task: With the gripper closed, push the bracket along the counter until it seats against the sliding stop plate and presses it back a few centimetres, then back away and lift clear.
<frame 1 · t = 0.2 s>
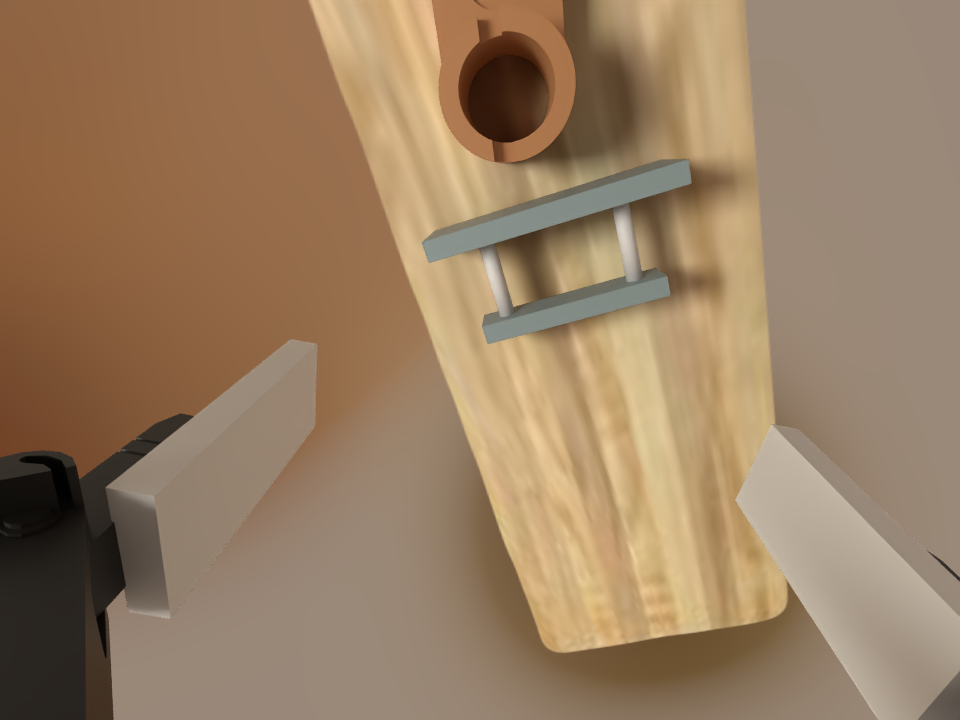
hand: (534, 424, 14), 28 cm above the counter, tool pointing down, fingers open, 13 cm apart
bracket: (499, 25, 34), on the counter
stop plate: (560, 259, 36), point 3 cm above the counter, slide at 0.0 cm
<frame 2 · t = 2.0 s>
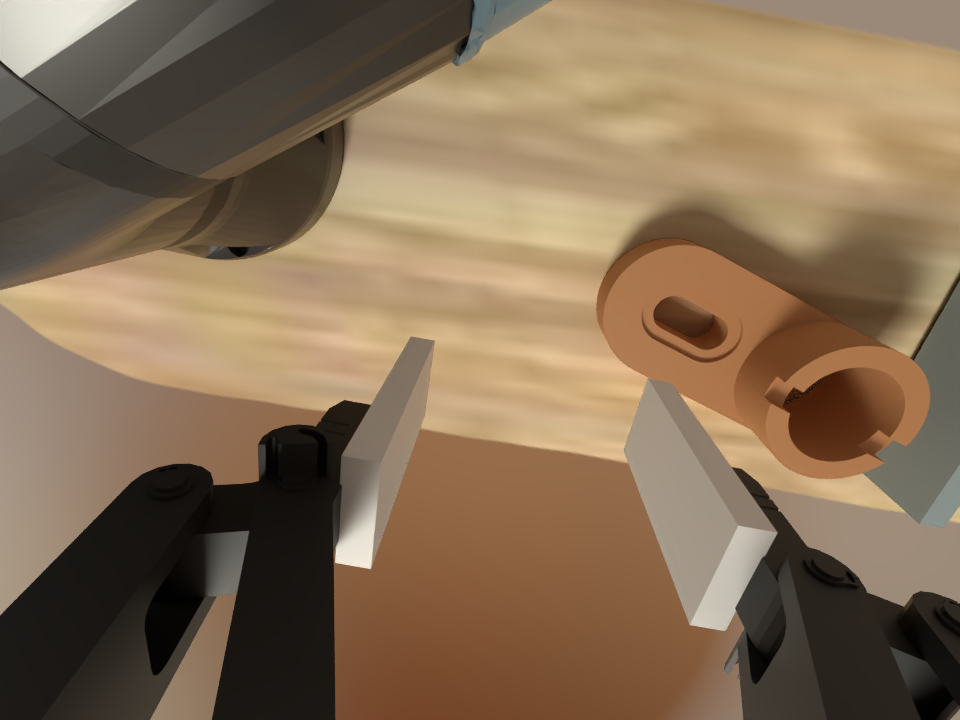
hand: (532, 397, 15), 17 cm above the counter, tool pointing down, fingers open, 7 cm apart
bracket: (720, 333, 32), on the counter
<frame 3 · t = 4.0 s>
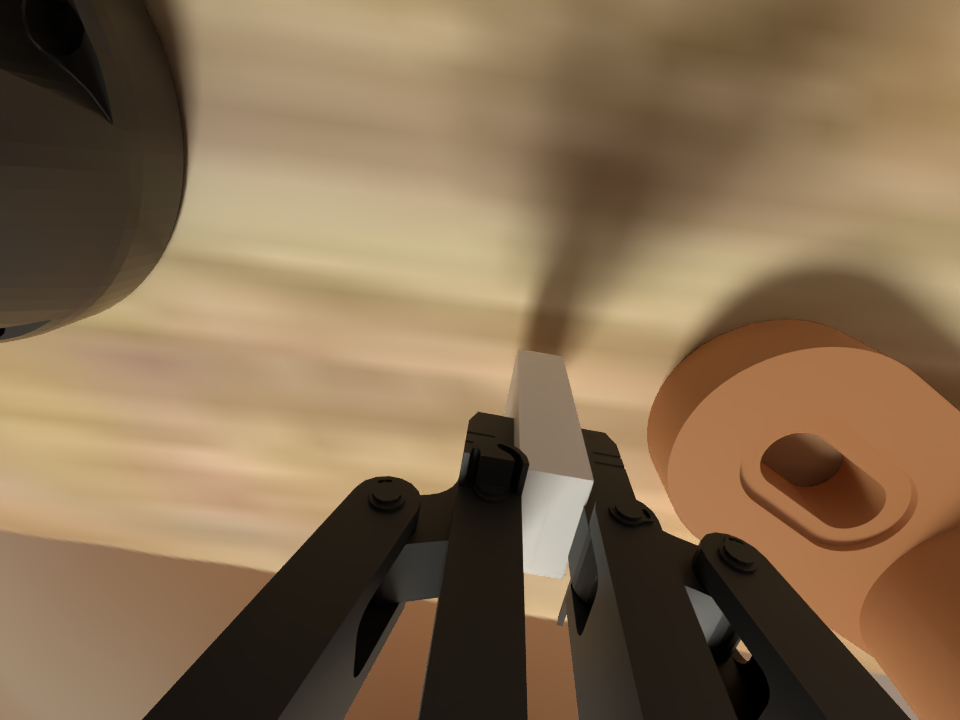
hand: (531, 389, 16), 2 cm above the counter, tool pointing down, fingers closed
bracket: (841, 484, 19), on the counter
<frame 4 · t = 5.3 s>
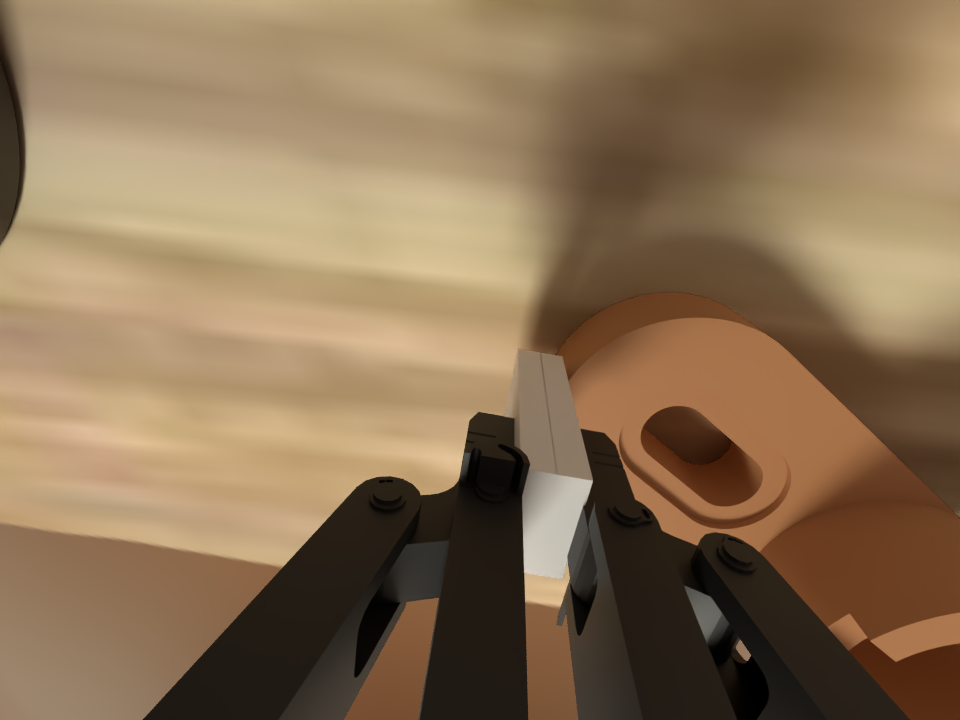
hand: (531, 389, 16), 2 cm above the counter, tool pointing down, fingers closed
bracket: (734, 467, 19), on the counter, touching gripper
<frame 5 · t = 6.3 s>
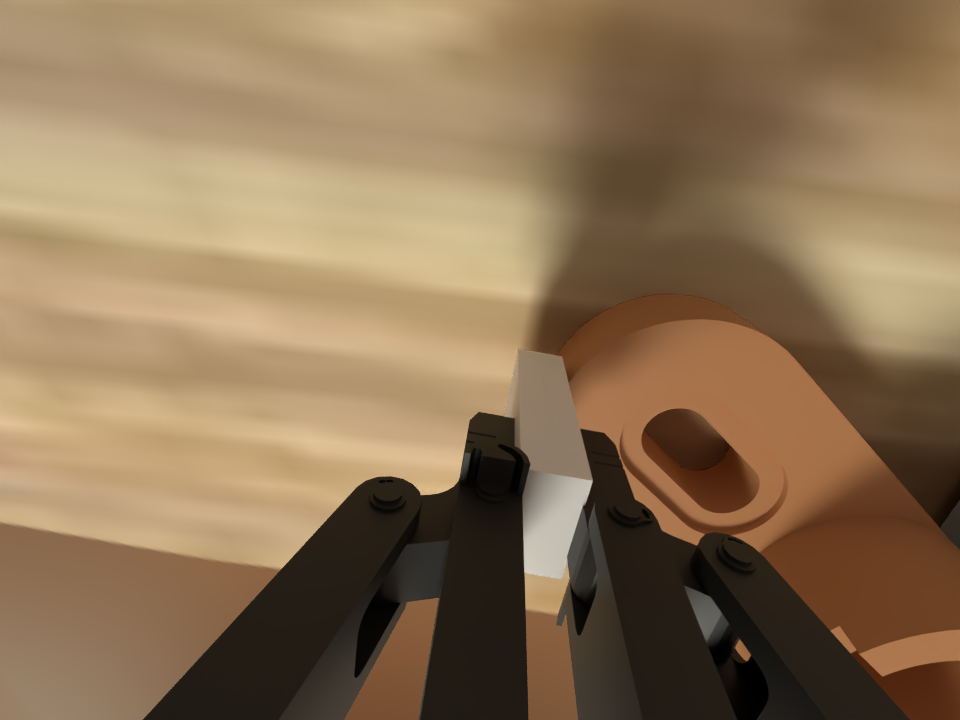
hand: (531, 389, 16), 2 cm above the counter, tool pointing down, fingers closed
bracket: (729, 475, 19), on the counter, touching gripper
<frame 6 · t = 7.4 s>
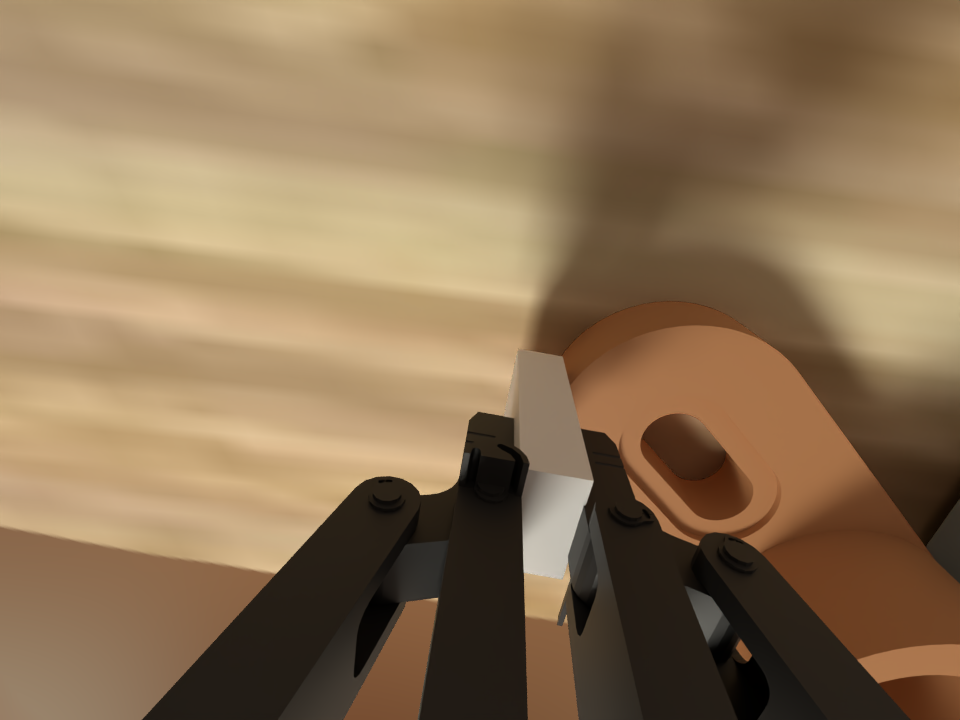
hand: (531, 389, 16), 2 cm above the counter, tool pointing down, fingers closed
bracket: (721, 484, 19), on the counter
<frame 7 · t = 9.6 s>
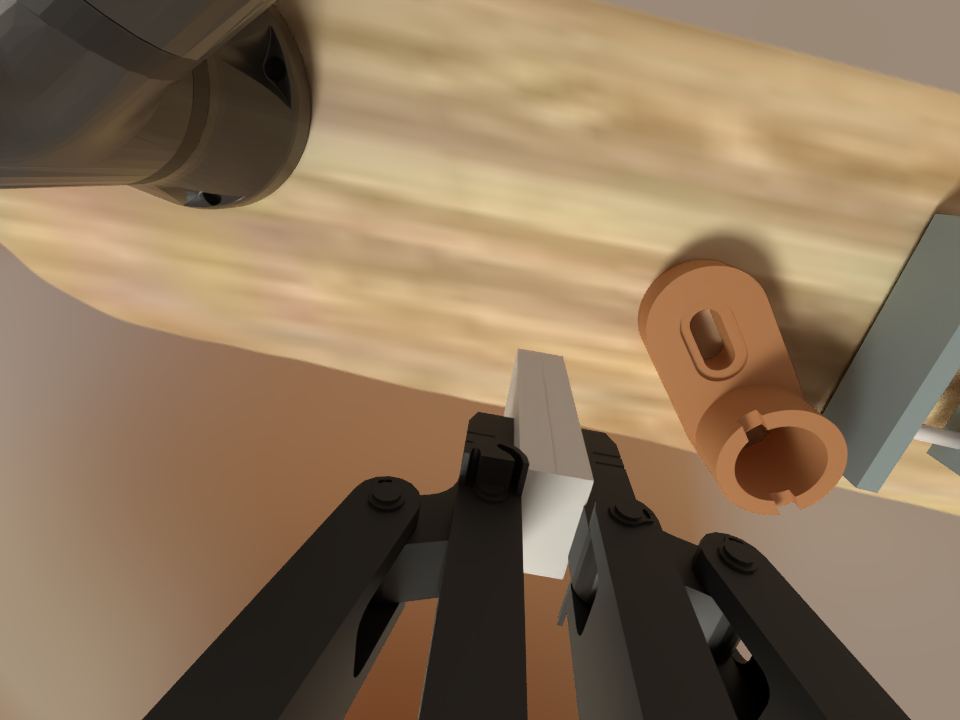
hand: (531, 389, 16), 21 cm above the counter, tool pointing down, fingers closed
bracket: (715, 366, 37), on the counter
stop plate: (959, 368, 32), point 3 cm above the counter, slide at 4.1 cm
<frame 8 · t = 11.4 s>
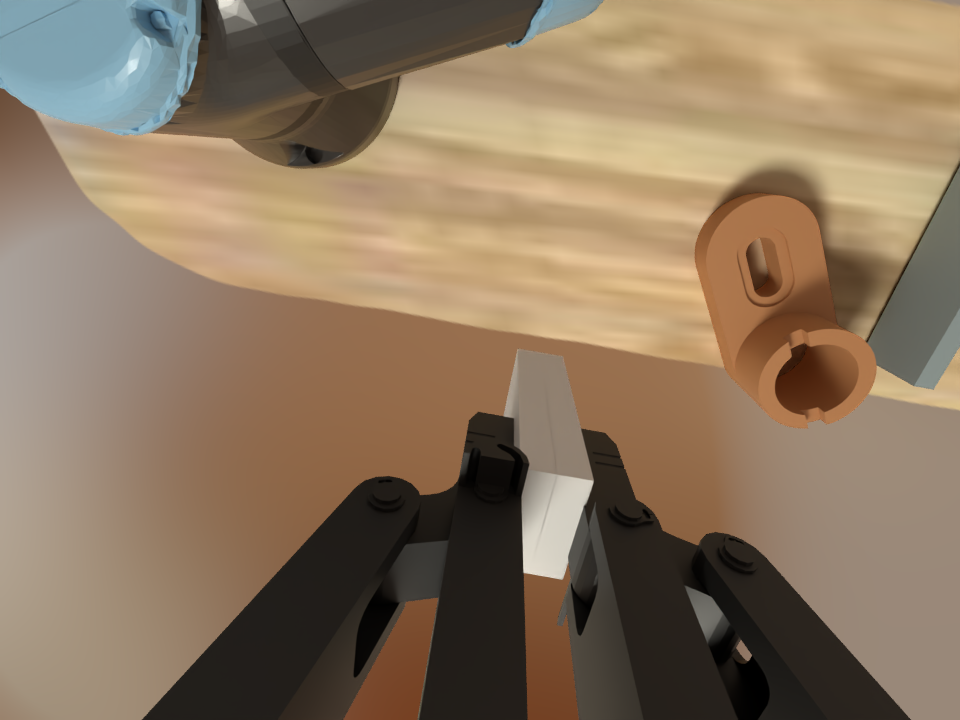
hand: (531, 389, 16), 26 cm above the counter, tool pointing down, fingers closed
bracket: (757, 298, 41), on the counter
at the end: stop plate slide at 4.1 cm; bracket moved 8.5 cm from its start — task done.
